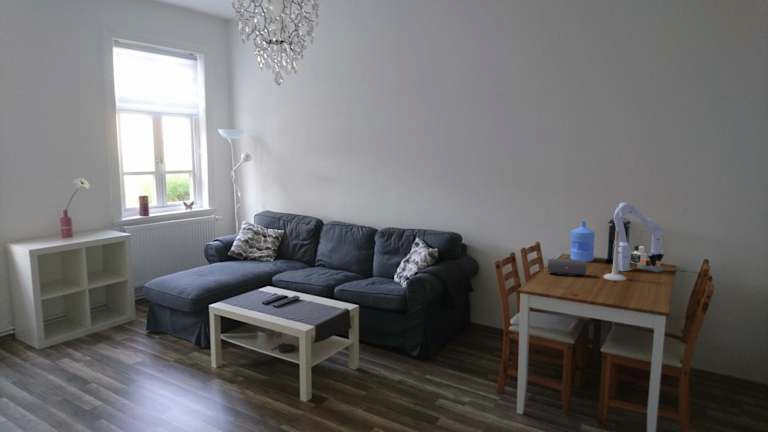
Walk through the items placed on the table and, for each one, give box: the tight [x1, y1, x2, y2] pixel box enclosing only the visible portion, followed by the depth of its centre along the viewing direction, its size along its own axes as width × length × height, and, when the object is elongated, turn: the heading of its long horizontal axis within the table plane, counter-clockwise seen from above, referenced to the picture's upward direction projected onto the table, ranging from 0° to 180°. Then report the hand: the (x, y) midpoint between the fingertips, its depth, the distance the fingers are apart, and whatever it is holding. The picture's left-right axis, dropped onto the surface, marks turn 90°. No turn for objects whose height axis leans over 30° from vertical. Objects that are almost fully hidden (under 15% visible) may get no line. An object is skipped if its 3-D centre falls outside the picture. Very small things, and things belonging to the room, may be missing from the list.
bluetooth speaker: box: [547, 258, 587, 276], centre depth 312 cm, size 23×9×10 cm, turn 71°
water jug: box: [569, 220, 596, 263], centre depth 353 cm, size 16×16×28 cm
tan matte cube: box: [650, 261, 662, 268], centre depth 321 cm, size 5×4×5 cm
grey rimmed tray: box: [636, 258, 665, 273], centre depth 324 cm, size 14×7×6 cm, turn 29°
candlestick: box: [603, 230, 627, 282], centre depth 301 cm, size 13×13×30 cm
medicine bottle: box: [630, 245, 648, 265], centre depth 343 cm, size 7×7×12 cm
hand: (655, 265), depth 321 cm, fingers closed on tan matte cube, 4 cm apart
